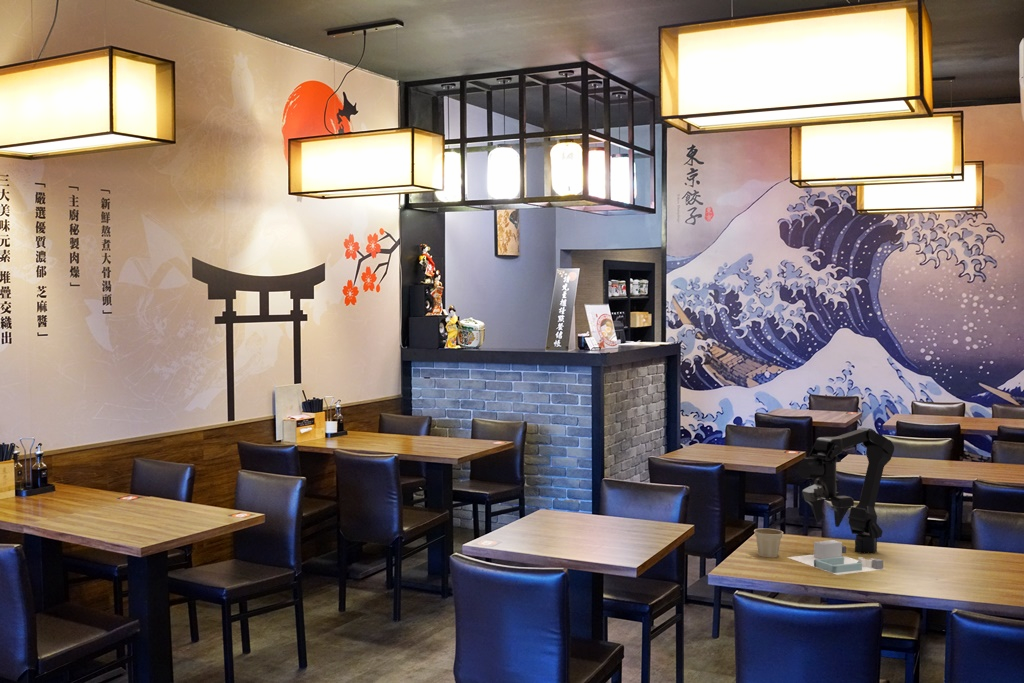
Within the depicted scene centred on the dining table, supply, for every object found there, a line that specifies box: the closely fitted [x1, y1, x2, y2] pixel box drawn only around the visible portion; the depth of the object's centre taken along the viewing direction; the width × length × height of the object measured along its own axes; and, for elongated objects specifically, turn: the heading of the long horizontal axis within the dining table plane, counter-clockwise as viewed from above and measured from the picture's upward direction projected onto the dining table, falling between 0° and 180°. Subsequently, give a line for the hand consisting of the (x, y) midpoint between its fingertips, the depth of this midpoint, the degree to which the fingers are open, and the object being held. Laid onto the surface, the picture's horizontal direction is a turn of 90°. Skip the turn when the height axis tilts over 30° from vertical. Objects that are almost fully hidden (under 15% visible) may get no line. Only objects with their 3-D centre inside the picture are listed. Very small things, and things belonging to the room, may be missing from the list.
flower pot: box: [753, 528, 784, 558], centre depth 308 cm, size 9×9×9 cm
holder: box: [814, 557, 862, 574], centre depth 291 cm, size 9×11×2 cm
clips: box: [857, 557, 874, 568], centre depth 294 cm, size 5×5×2 cm
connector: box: [813, 539, 847, 559], centre depth 305 cm, size 4×11×5 cm, turn 112°
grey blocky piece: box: [857, 558, 884, 570], centre depth 292 cm, size 5×6×3 cm
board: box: [786, 553, 885, 576], centre depth 297 cm, size 19×24×1 cm
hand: (827, 524), depth 304 cm, fingers open, 9 cm apart
